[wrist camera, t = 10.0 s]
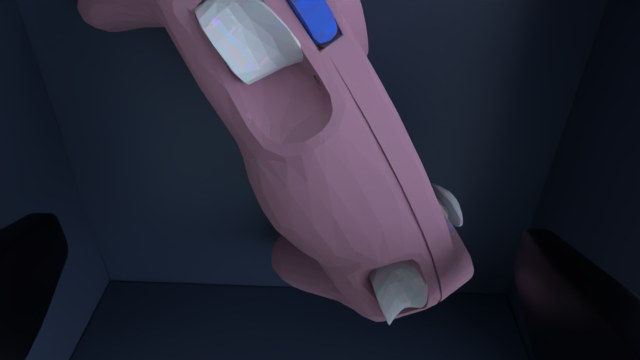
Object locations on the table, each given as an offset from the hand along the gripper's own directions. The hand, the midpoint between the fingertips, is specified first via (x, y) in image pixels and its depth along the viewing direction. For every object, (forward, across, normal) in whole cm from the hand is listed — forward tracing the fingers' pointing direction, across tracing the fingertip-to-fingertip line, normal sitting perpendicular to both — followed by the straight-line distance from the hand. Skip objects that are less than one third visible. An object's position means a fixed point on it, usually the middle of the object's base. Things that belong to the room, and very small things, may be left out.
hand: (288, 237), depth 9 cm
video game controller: (+5, 0, -1) cm, 5 cm away
